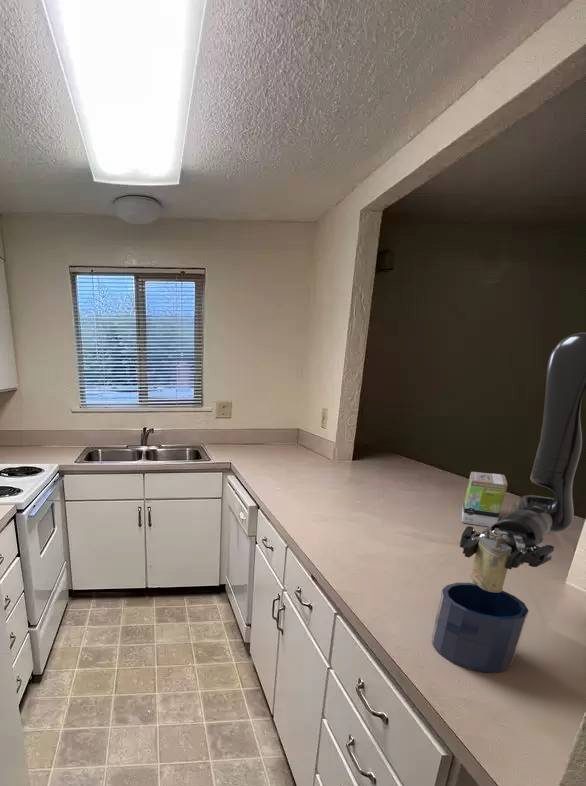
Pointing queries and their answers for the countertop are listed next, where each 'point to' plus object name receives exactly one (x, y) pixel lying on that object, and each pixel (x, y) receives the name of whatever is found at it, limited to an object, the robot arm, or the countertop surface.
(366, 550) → the countertop surface
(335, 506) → the countertop surface
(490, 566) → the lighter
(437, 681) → the countertop surface
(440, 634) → the pot
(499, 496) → the tea box
